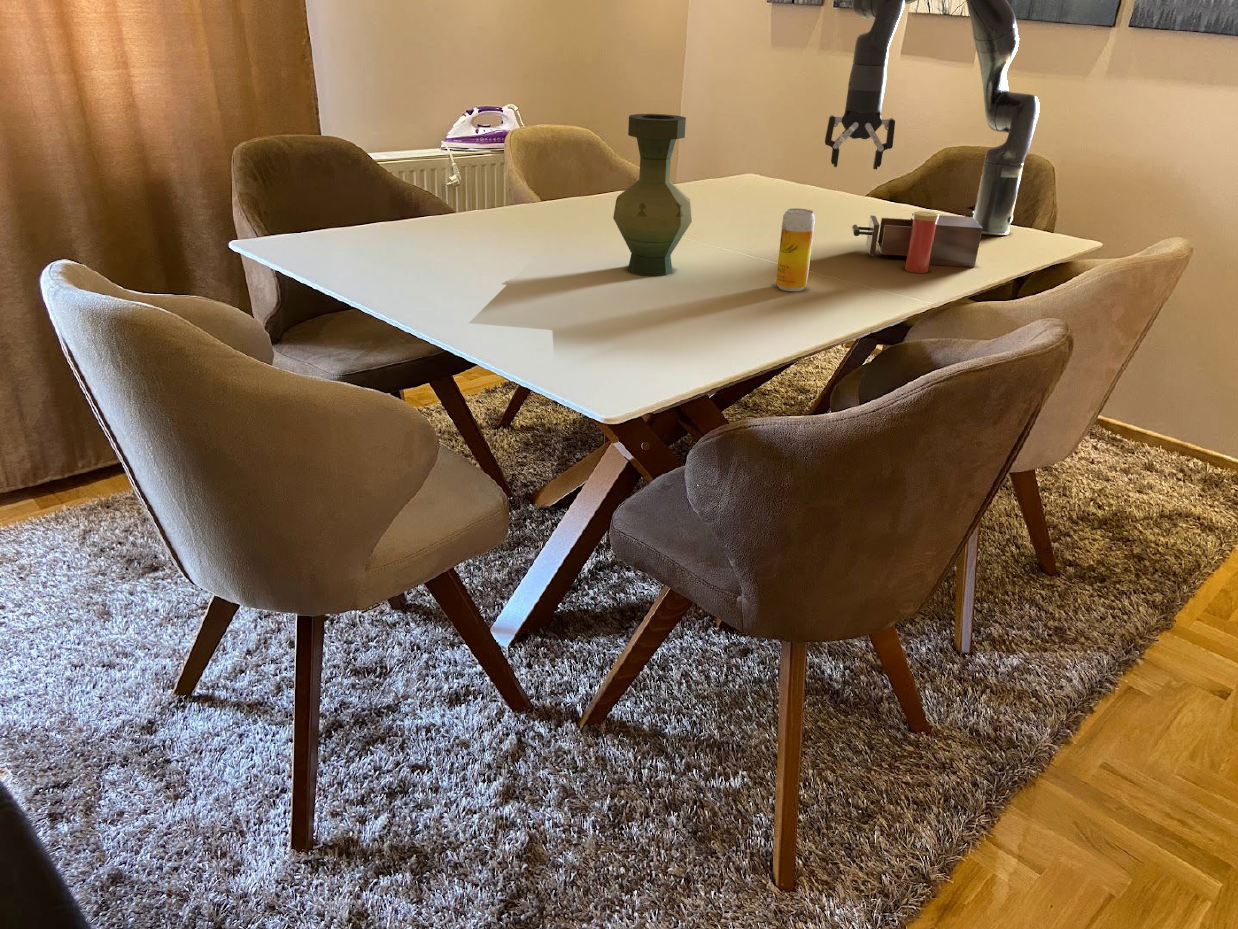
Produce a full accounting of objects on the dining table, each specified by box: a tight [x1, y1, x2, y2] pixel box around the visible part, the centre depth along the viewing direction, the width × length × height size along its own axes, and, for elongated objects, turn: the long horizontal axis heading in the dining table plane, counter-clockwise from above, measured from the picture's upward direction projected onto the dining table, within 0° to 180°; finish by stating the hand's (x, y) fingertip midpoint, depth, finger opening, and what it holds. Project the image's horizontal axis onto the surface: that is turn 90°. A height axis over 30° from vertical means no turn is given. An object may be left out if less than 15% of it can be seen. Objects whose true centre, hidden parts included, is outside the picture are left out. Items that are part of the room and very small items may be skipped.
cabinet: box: [910, 213, 983, 268], centre depth 207 cm, size 14×12×9 cm
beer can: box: [775, 207, 816, 292], centre depth 180 cm, size 6×6×15 cm
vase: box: [612, 113, 693, 277], centre depth 186 cm, size 16×16×30 cm
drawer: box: [851, 215, 913, 257], centre depth 209 cm, size 16×10×7 cm, turn 81°
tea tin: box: [904, 210, 940, 274], centre depth 197 cm, size 5×5×12 cm
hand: (854, 167), depth 201 cm, fingers open, 8 cm apart
